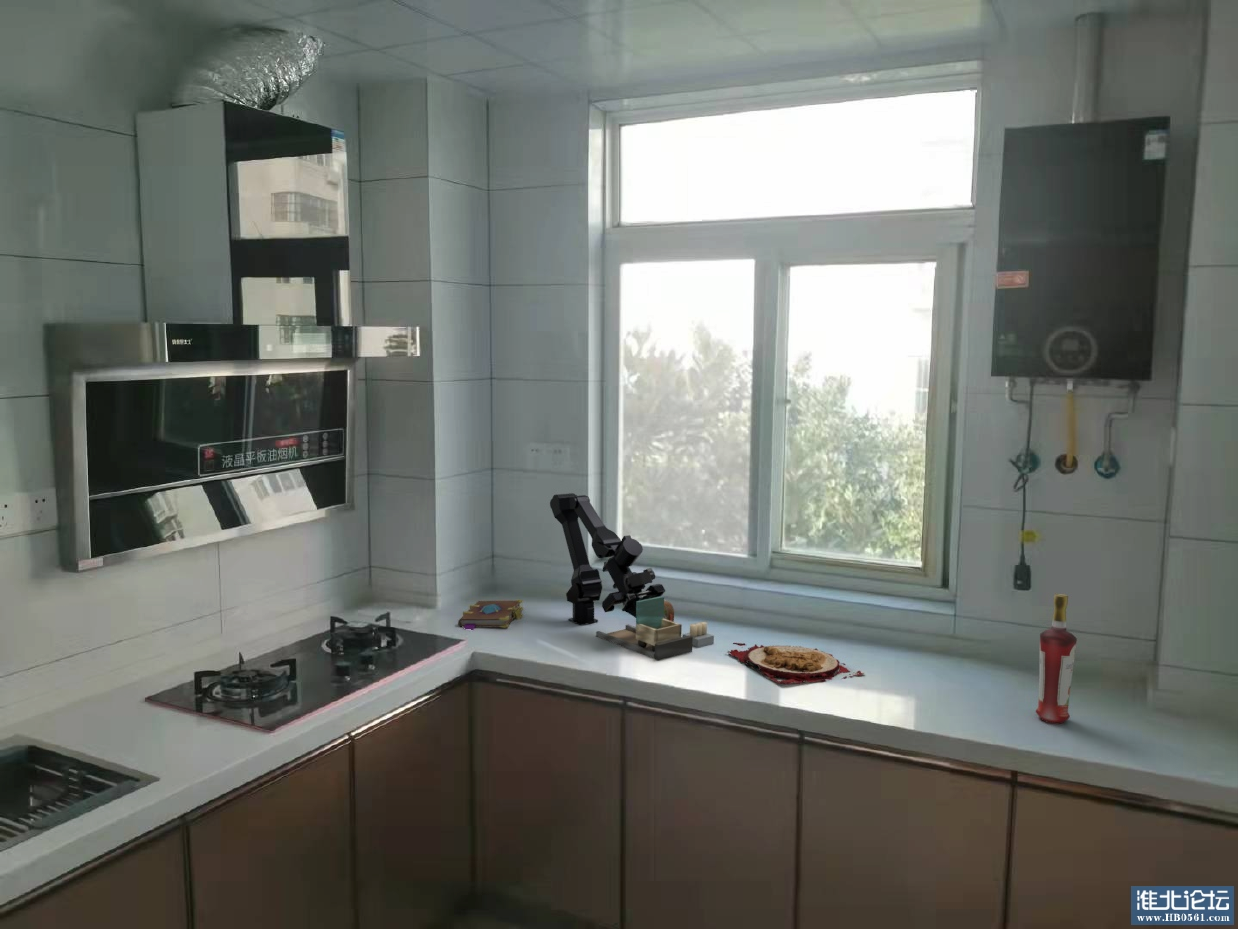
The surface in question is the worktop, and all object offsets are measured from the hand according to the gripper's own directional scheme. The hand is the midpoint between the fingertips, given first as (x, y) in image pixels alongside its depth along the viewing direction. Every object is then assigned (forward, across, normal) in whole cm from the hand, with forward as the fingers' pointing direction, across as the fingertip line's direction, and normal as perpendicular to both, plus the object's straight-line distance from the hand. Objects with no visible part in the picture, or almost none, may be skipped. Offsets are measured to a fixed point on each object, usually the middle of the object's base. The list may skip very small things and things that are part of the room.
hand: (648, 624), depth 254 cm
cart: (+7, 0, +1) cm, 7 cm away
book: (-28, -19, +39) cm, 52 cm away
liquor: (+70, +38, -60) cm, 100 cm away
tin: (-4, +16, +14) cm, 22 cm away
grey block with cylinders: (+9, +12, 0) cm, 16 cm away
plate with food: (+28, +22, -18) cm, 40 cm away
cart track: (+3, 0, +6) cm, 7 cm away
